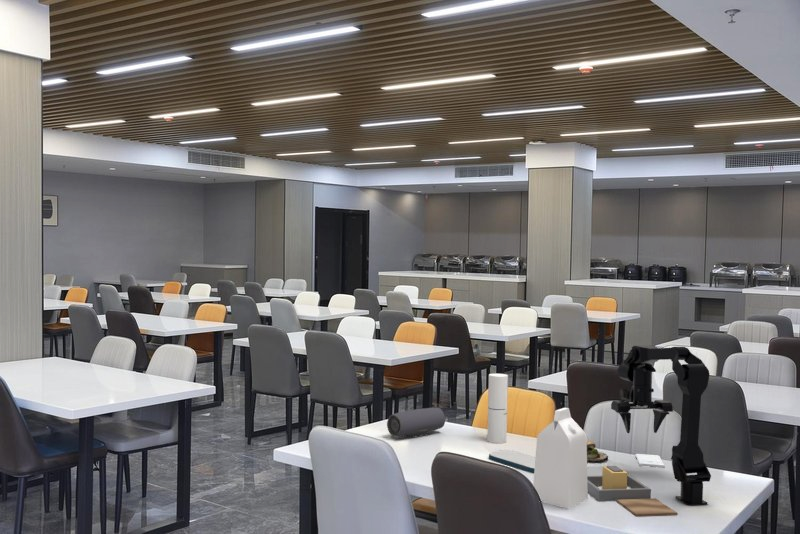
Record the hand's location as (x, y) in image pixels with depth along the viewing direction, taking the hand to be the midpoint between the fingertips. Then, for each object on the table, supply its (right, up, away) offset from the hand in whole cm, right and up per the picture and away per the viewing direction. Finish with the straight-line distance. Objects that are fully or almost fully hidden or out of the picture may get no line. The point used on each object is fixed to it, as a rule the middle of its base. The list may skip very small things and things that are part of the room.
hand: (641, 432), depth 237 cm
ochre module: (-14, -14, -17) cm, 26 cm away
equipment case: (-15, -14, -10) cm, 23 cm away
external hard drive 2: (+8, -15, +16) cm, 23 cm away
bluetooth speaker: (-72, -12, +47) cm, 87 cm away
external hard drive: (-37, -14, +11) cm, 41 cm away
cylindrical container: (-41, -13, +41) cm, 60 cm away
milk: (-32, -14, -24) cm, 42 cm away
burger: (-12, -14, +19) cm, 27 cm away
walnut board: (-9, -14, -31) cm, 35 cm away
